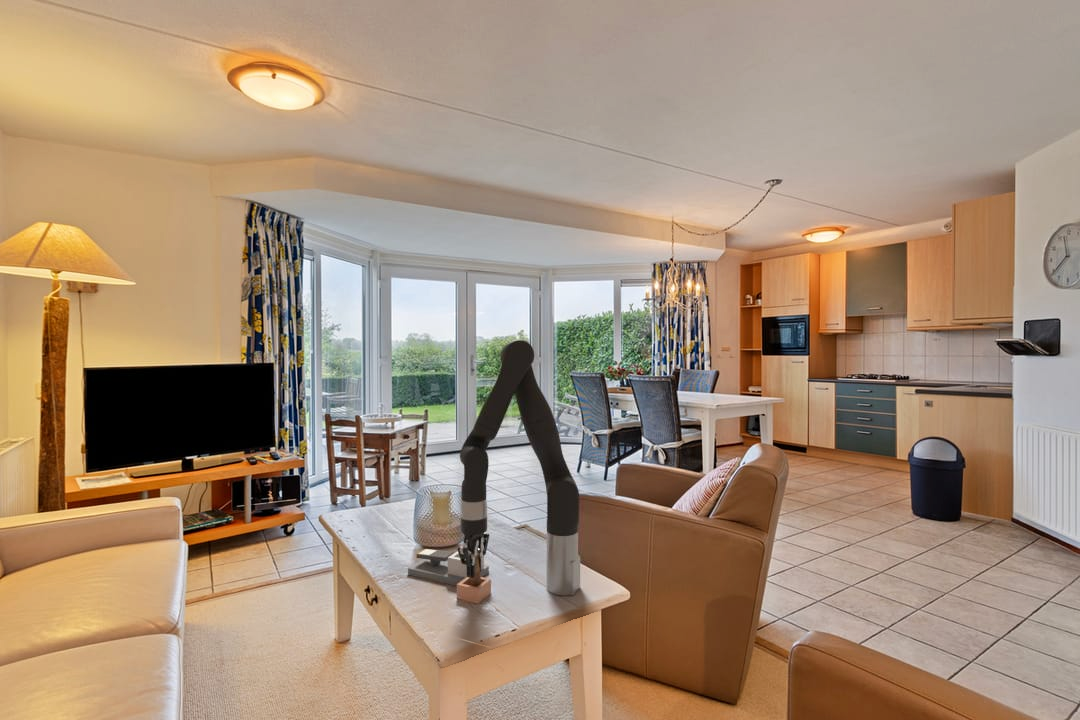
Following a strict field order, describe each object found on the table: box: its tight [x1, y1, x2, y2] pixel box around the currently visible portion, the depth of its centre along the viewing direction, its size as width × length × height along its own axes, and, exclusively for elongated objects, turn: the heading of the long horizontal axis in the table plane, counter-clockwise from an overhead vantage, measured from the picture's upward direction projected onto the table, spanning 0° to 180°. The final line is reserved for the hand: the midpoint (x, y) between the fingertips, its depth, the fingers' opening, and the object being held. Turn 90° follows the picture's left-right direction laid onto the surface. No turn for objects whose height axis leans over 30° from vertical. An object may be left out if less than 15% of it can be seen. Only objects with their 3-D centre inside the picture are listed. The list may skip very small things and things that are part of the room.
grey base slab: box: [407, 550, 490, 587], centre depth 164 cm, size 22×12×7 cm, turn 65°
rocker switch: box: [415, 548, 455, 562], centre depth 166 cm, size 11×5×1 cm, turn 65°
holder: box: [456, 576, 492, 604], centre depth 150 cm, size 7×7×4 cm
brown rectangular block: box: [469, 551, 481, 587], centre depth 149 cm, size 3×3×11 cm
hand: (474, 574), depth 149 cm, fingers closed on brown rectangular block, 3 cm apart
